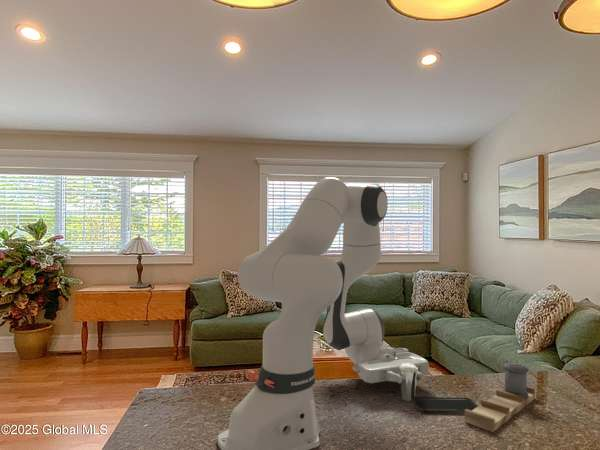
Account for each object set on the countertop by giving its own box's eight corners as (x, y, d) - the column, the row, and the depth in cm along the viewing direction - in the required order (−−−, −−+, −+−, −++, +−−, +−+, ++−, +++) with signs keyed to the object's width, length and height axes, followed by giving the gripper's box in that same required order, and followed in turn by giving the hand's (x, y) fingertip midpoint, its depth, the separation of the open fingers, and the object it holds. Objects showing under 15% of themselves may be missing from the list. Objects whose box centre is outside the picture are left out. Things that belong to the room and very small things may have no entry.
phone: (411, 397, 107) (469, 397, 106) (411, 401, 107) (469, 402, 106) (419, 410, 99) (482, 411, 98) (419, 415, 99) (482, 416, 98)
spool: (523, 400, 103) (523, 372, 103) (499, 393, 107) (499, 366, 107) (531, 394, 107) (531, 367, 107) (508, 387, 111) (508, 361, 111)
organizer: (492, 432, 90) (493, 419, 90) (464, 421, 95) (464, 410, 95) (534, 398, 107) (534, 388, 107) (509, 391, 112) (509, 381, 112)
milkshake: (421, 403, 104) (421, 364, 104) (400, 402, 105) (400, 363, 105) (419, 396, 109) (419, 358, 108) (398, 394, 109) (398, 357, 109)
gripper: (349, 355, 115) (376, 371, 102) (409, 347, 122) (442, 361, 110) (349, 377, 115) (376, 397, 102) (409, 368, 122) (442, 385, 110)
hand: (411, 378), depth 106 cm, fingers closed on milkshake, 4 cm apart
